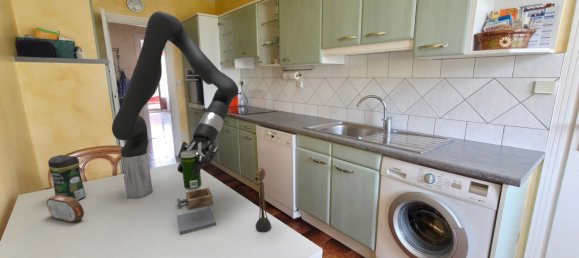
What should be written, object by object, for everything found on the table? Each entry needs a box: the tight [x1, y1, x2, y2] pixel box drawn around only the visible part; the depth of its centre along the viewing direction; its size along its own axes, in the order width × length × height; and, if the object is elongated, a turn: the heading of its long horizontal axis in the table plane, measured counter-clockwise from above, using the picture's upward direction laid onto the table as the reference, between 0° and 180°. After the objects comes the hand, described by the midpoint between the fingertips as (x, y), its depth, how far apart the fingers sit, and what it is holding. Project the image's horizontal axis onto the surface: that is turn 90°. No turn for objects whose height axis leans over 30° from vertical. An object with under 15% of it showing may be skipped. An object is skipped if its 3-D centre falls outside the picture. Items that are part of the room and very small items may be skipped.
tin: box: [46, 194, 85, 223], centre depth 90 cm, size 15×3×8 cm, turn 71°
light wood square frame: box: [176, 186, 214, 211], centre depth 100 cm, size 12×9×4 cm
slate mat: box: [176, 207, 217, 235], centre depth 87 cm, size 11×11×1 cm
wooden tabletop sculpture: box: [254, 167, 272, 233], centre depth 80 cm, size 6×5×20 cm
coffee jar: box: [47, 154, 87, 202], centre depth 105 cm, size 10×8×19 cm
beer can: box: [180, 150, 203, 191], centre depth 84 cm, size 5×5×12 cm
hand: (187, 172), depth 82 cm, fingers closed on beer can, 5 cm apart
